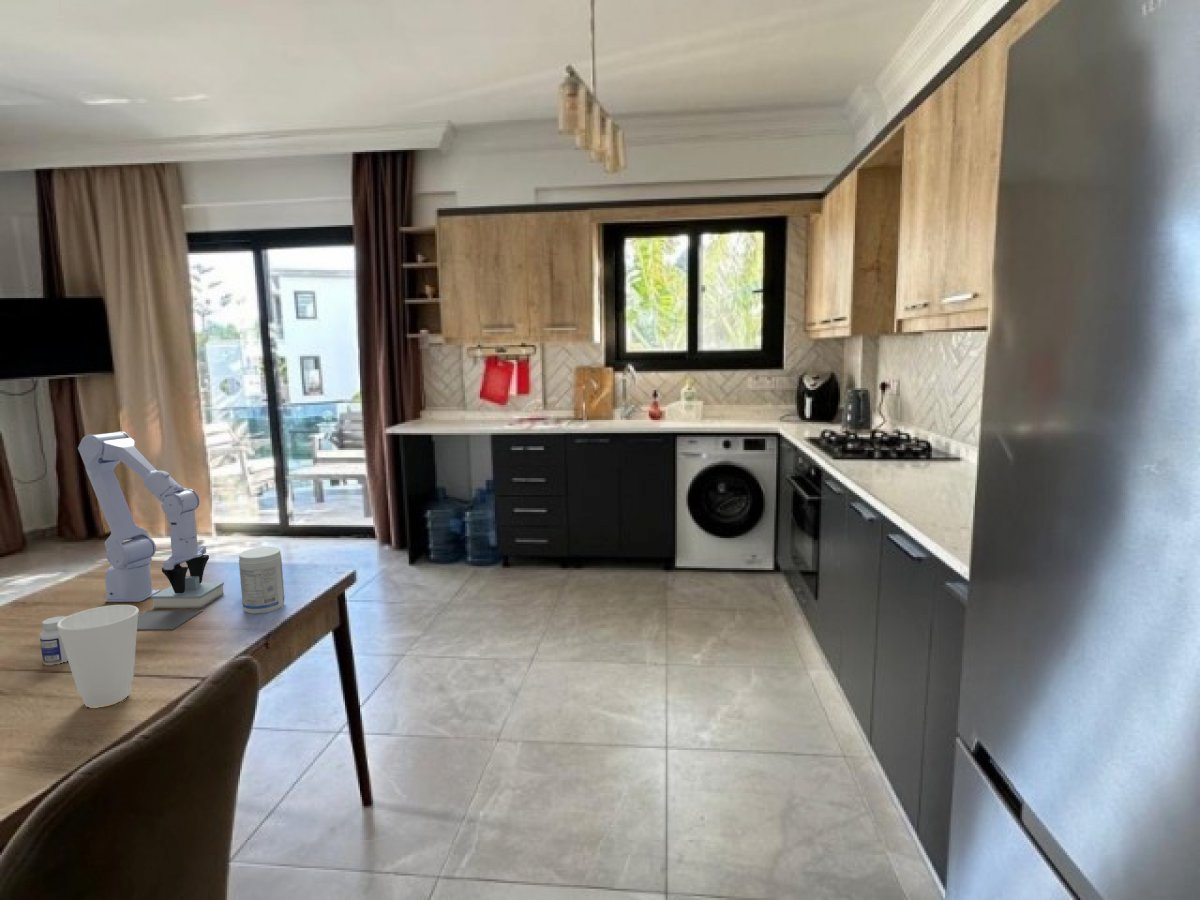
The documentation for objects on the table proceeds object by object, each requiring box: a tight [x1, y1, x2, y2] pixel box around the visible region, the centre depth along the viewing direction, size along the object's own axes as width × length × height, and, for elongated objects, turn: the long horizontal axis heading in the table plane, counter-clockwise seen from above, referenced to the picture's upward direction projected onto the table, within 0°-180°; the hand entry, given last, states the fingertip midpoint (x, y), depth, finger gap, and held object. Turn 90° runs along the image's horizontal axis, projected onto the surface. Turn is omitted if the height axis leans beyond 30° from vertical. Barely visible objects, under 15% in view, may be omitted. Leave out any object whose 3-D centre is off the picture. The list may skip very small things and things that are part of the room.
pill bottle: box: [39, 615, 68, 666], centre depth 135 cm, size 5×5×9 cm
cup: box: [57, 604, 140, 706], centre depth 119 cm, size 12×12×16 cm
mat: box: [137, 609, 204, 631], centre depth 156 cm, size 14×12×1 cm
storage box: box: [152, 585, 224, 609], centre depth 169 cm, size 12×10×3 cm
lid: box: [150, 575, 225, 600], centre depth 168 cm, size 12×10×4 cm
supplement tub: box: [238, 546, 286, 615], centre depth 163 cm, size 10×10×15 cm
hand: (188, 588), depth 169 cm, fingers open, 7 cm apart
